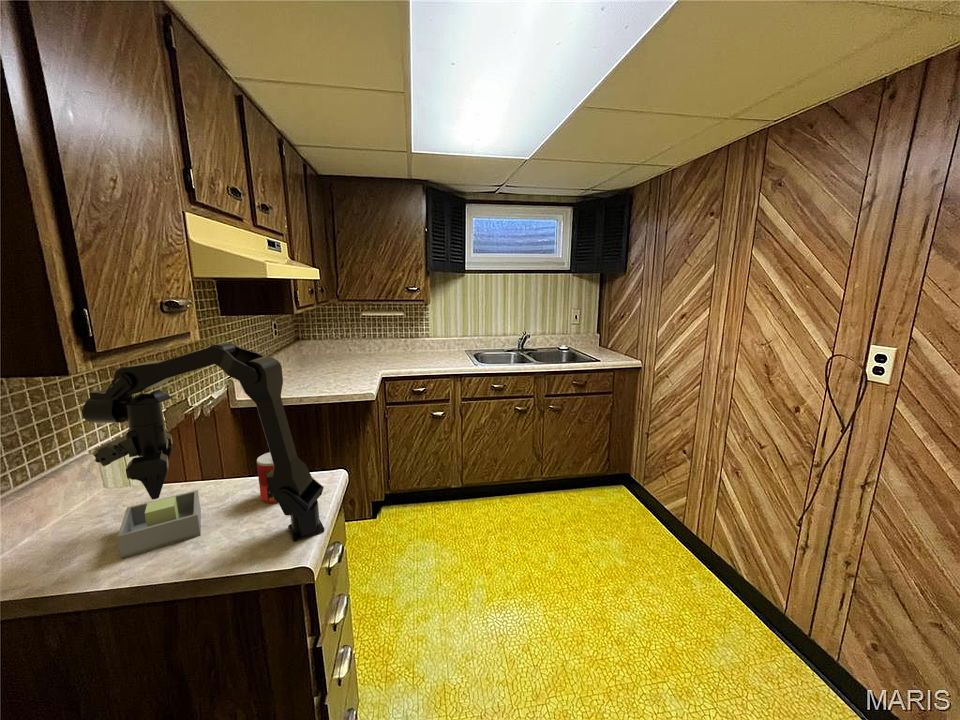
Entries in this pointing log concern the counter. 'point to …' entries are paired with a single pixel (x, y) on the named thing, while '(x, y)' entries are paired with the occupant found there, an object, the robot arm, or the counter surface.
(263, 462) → the canned food
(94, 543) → the counter surface
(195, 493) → the grey bin
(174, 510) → the green block
